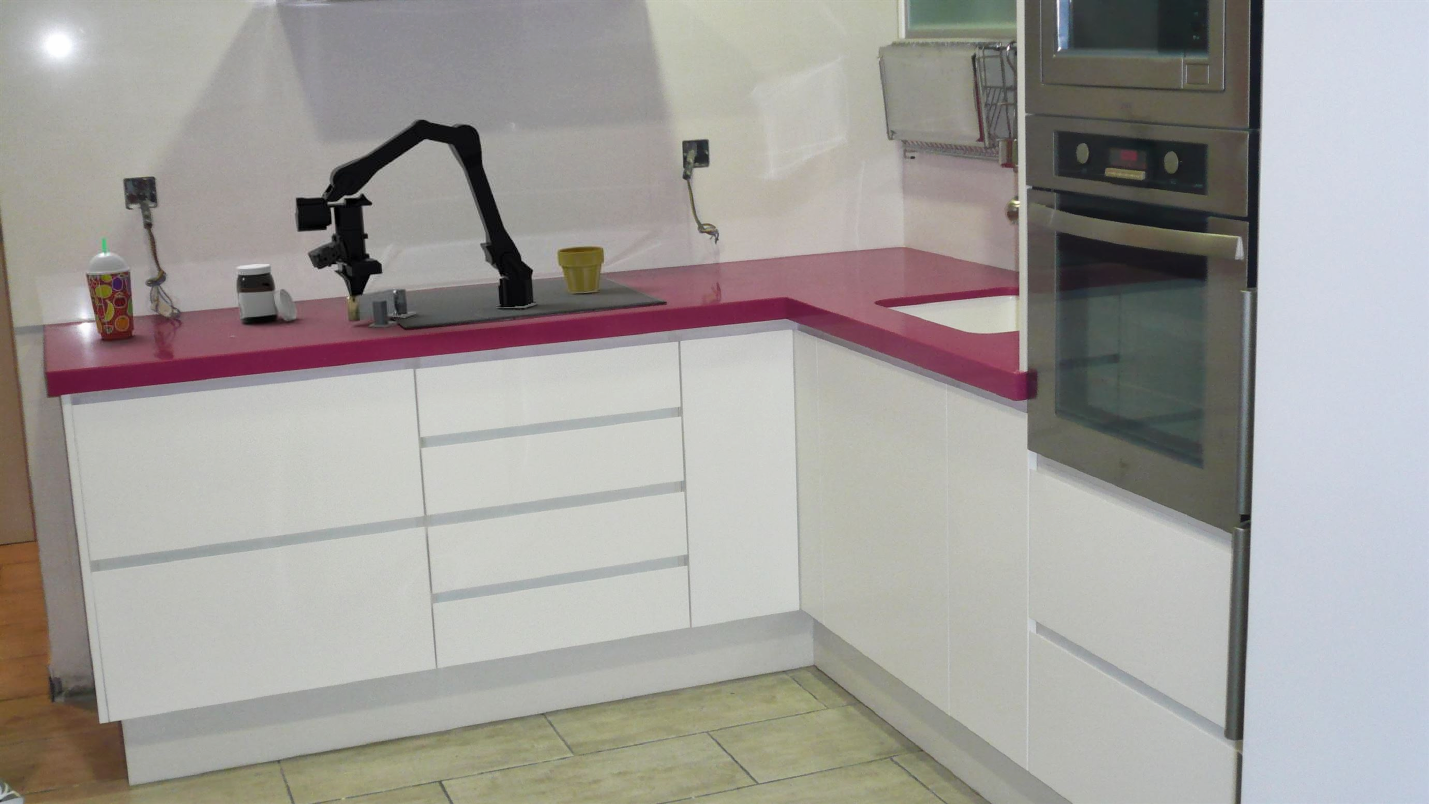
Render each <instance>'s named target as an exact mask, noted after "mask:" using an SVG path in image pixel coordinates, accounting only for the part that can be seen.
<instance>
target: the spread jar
mask: <svg viewBox="0 0 1429 804" xmlns="http://www.w3.org/2000/svg"><path fill="white" fill-rule="evenodd" d="M271 268H272V267H271V264H267V263H256V264H254V263H253V264H244V265H239V266H236V274H237V277H236V283H235V286H236V287H235V288H236V297H237V304H238V305H237V306H238V310H239V311H238V312H239V319H240V321H241V323H242V324H245V325H262V324H267V323H268V324H269V323H273V322H276V321H277V320H278V318H279V315H280V316H281V318H282V319H283V320H284V321H286V322H291V321H294V320H296V319H297V316H298V311H297V307H296V304H295V302H294V299H293V298H292V296H291V295H290V293H289V291H287V290H286V289H284V288H280V289H278V290H276V284H275V279H274V277H273V274H271V272H272V269H271Z"/></svg>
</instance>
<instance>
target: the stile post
mask: <svg viewBox="0 0 1429 804" xmlns="http://www.w3.org/2000/svg"><path fill="white" fill-rule="evenodd" d="M372 304H373V314H374V317H373V322H374V323H371V324H369V328H382V329H385V328H389V327H393V326H396V325H398V321H389V318H388V312H387V301H386V300H377V301H373V302H372Z"/></svg>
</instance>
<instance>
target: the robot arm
mask: <svg viewBox="0 0 1429 804" xmlns="http://www.w3.org/2000/svg"><path fill="white" fill-rule="evenodd" d="M425 140H428V141H432V142H438V143H443V144H447V146H448V147H449V150H450V151H451V153H452V154H453V157H454V159H455V160H456V161H457V163H458V164H459V166H460V167H461V169H462V171H463V174H464V176H465V178H466V181H467V185H468V187H469V190H470V193H471V196H472V198H473V201H474V204H475V206H476V209H477V212H478V215H479V218H480V220H481V224H482V227H483V230H484V234H485V242H481V243H480V244H479V245H480V248H481V249H482V251H483V254H484V257H485V260H484V261H485V262H486V263H488V264H489V265H490V266H491V267H492V268H493V269H495V270H497V272H498V273H499V276H500V277H501V278H499V281H498V282H499V285H498V286H497V289H498V290H497V291H498V300H499V301H498V304H499V305H497V307H515V306H525V305H528V304H531V303H534V302H535V301H534V300H535V299H534V289H533V288H534V287H533V277H532V276H533V273H534V270H533V269H532V267H530V266H529V265H528V264H526V263H525V262H524V261H523V260H522V259H523V258H522V255H521V253H520V251H519V249H518V247H517V246H516V244H515V242H514V240H513V239H512V238H511V237H512V236H510V234H509V233H508V231H507V230H506V228H505V226H504V223H503V222H504V221H502V218H501V213H500V211H499V208H498V205H497V202H496V200H495V197H494V195H493V191H492V189H491V186H490V182H489V179H488V177H487V174H486V172H485V168H484V164H483V150H482V144H481V136H480V133H479V132H478V130H477V129H476V127H474V126H472V125H470V124H464V123H456V124H454V125H453V124H452V125H451V126H450V125H446V124H441V123H436V122H431V121H429V120H426V119H421V118H420V119H415V120H414V121H413V122H412V123H411V124H410V125H408V126H407V127H405V128H404V129H402V130H401V131H399V132H398V133H396V134H395V135H393V136H392V137H390V138H389V139H387V140H386V141H384V142H383V143H382V144H380V145H379V146H377V147H376V148H374V149H373V150H371V151H369V152H368V153H367V154H364V155H362V156H361V157H357V158H355V159H353V160H352V159H351V160H349V161H347V162H345V163H343V164H341V165H338V166H337V167H335V168H333V170H331V172H330V176H329V184H328V186H327V187H326V189H325V190H324V191H323V193H322V194H321V196H319V197H318V196H317V197H303V196H302V197H301V196H297V197H295V212H294V217H295V225H296V227H295V228H296V231H297V232H298V233H300V232H301V233H302V232H318V231H327V228H328V227H330V226H331V225H332V224H333V220H332V219H333V218H334V230H335V233H332V235H331V236H330V237H331V241H330V242H328V243H325V244H322V245H321V246H317V248H315V249H313V250H309V251H308V252H307V255H308V258H309V260H310V262H311V264H312V266H313V267H314V268H316V269H318V270H322V269H325V268H327V267H328V268H331V267H332V265H334V266H335V265H337V269H336V270H334V273H335V274H337V276H339V277H341V278H342V279H343V282H344V284H345V286H346V288H347V292H348V294H349V295H348V296H353V295H359V294H364V291H365V289H366V287H367V284H368V282H369V280H370V278H371V276H372V275H373V276H374V275H381V274H383V264H382V263H381V262H380V261H379V260H378V259H375V258H372V257H370V253H368V252H367V246H366V240H367V239H369V234H368V233H367V232H365V222H364V221H365V220H364V209H363V207H367V206H369V207H370V206H373V202H372V201H371V200H369V199H368V198H367V197H366V195H365V193H360V194H359V195H358V197H351V196H354V195H355V194H357V193H359V192H360V191H361V190H362V189H363V188H364V187H365V186H366V185H367V184H368V182H370V180H372V178H373V177H374V176H375V174H377V173H378V172H379V171H380V170H382V169H383V168H384V167H386V166H387V165H389V164H390V163H392V162H393V161H395V160H396V159H398V158H399V157H401V156H402V155H404V154H405V153H408V151H410V150H411V149H413V148H414V147H416V146H417V145H419V144H420V143H421V142H423V141H425ZM345 196H349V197H345ZM342 198H343V201H342V202H338V201H340V200H341V199H342ZM336 202H337V203H336ZM332 209H333V216H332Z"/></svg>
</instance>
